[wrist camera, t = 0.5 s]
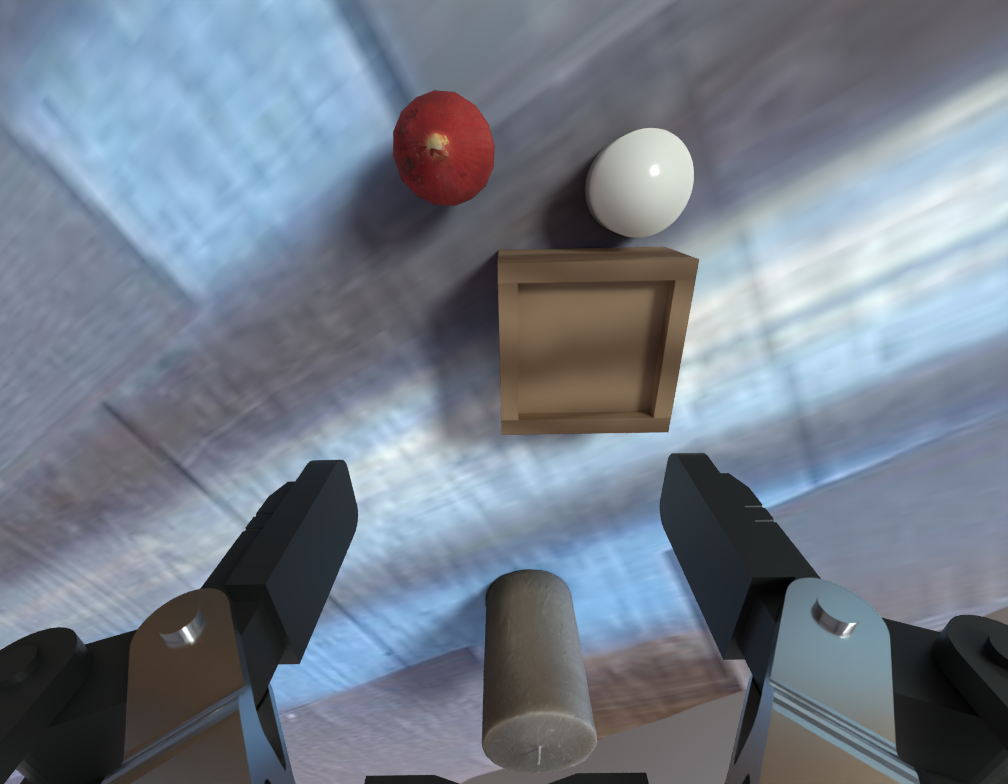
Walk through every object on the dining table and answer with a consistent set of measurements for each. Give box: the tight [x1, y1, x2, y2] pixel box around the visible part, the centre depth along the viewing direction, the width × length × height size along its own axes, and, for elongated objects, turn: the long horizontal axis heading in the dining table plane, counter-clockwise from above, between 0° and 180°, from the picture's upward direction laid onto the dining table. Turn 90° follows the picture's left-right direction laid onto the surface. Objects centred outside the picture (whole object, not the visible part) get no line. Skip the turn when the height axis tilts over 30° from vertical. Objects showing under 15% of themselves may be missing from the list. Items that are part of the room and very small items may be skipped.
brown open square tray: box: [498, 247, 699, 435], centre depth 30 cm, size 12×12×6 cm
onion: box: [393, 90, 495, 206], centre depth 24 cm, size 6×6×8 cm
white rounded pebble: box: [585, 128, 694, 238], centre depth 27 cm, size 6×6×4 cm
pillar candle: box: [482, 570, 597, 773], centre depth 40 cm, size 10×10×15 cm
